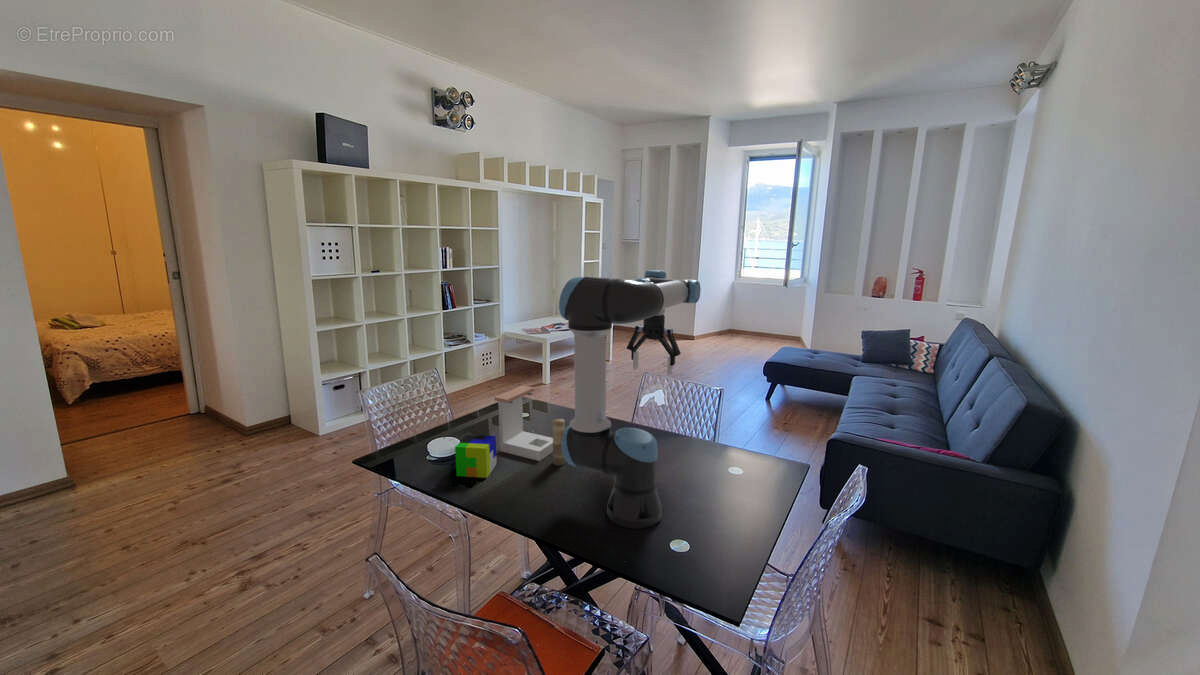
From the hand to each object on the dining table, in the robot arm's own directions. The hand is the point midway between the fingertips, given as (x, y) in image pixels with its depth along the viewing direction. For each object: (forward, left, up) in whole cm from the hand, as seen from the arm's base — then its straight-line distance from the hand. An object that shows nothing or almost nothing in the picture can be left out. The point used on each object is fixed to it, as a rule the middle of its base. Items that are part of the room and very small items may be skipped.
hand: (652, 371), depth 179 cm
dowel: (-31, +21, -28) cm, 46 cm away
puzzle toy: (-48, +42, -28) cm, 70 cm away
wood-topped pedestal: (-27, +42, -24) cm, 55 cm away
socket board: (-27, +36, -28) cm, 53 cm away
